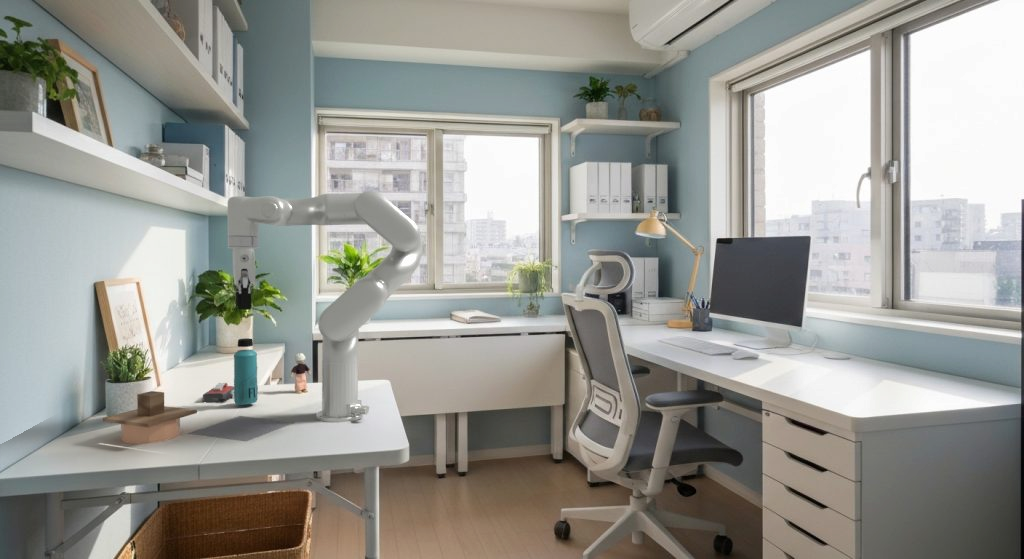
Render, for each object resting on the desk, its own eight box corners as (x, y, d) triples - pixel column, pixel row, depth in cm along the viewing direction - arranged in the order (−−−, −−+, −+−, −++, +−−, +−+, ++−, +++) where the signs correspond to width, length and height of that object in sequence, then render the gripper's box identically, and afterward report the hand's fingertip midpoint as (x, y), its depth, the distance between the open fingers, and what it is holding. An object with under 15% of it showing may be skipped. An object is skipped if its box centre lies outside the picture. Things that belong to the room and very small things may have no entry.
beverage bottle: (249, 410, 182) (249, 340, 181) (228, 408, 183) (228, 339, 182) (262, 405, 188) (262, 337, 187) (242, 403, 190) (242, 336, 189)
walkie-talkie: (231, 404, 190) (249, 390, 210) (231, 389, 190) (249, 376, 210) (200, 405, 189) (221, 390, 209) (200, 390, 189) (221, 377, 209)
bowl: (190, 433, 158) (190, 413, 158) (148, 447, 147) (148, 425, 146) (153, 428, 162) (153, 409, 162) (109, 441, 150) (109, 420, 150)
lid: (196, 413, 158) (196, 390, 158) (148, 427, 145) (147, 402, 145) (153, 408, 163) (153, 385, 163) (102, 421, 150) (102, 396, 149)
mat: (295, 423, 168) (295, 422, 168) (246, 442, 151) (246, 441, 151) (240, 417, 174) (240, 415, 174) (187, 434, 157) (187, 433, 157)
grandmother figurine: (303, 389, 210) (303, 351, 210) (312, 390, 209) (312, 352, 208) (286, 393, 203) (286, 354, 203) (295, 395, 202) (295, 355, 201)
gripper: (261, 243, 163) (261, 310, 164) (255, 244, 179) (255, 304, 179) (229, 242, 160) (229, 310, 161) (226, 243, 175) (226, 305, 176)
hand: (243, 307), depth 170 cm, fingers open, 9 cm apart
